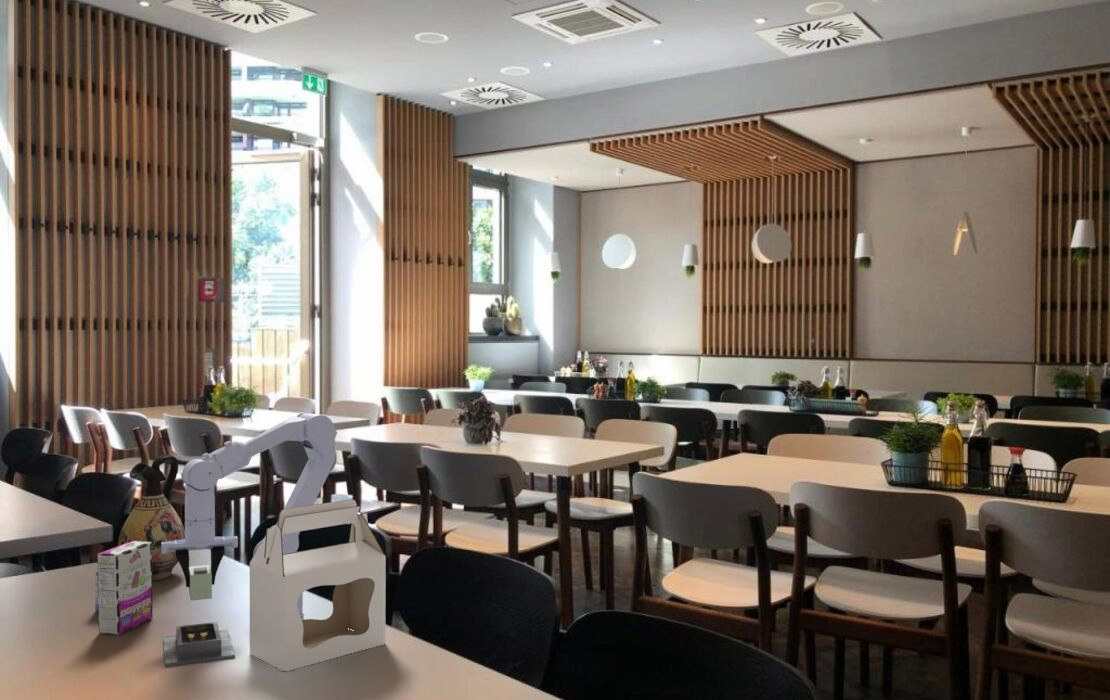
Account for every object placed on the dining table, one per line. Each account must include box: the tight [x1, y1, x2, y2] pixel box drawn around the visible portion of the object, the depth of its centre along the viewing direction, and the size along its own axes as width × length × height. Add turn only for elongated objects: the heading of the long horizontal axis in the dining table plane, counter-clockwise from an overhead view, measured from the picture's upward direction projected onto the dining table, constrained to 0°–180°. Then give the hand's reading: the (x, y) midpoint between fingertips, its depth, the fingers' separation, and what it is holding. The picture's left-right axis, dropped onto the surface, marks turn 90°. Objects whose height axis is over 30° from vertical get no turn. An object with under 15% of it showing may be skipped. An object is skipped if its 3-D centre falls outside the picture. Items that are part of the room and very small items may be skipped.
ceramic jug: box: [117, 454, 185, 581], centre depth 231 cm, size 17×15×30 cm
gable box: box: [249, 499, 387, 673], centre depth 179 cm, size 22×13×28 cm, turn 135°
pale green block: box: [188, 564, 213, 602], centre depth 192 cm, size 4×8×6 cm, turn 24°
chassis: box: [163, 621, 236, 668], centre depth 179 cm, size 12×16×3 cm
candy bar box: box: [96, 541, 154, 636], centre depth 192 cm, size 11×5×16 cm, turn 168°
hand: (200, 584), depth 191 cm, fingers closed on pale green block, 4 cm apart
